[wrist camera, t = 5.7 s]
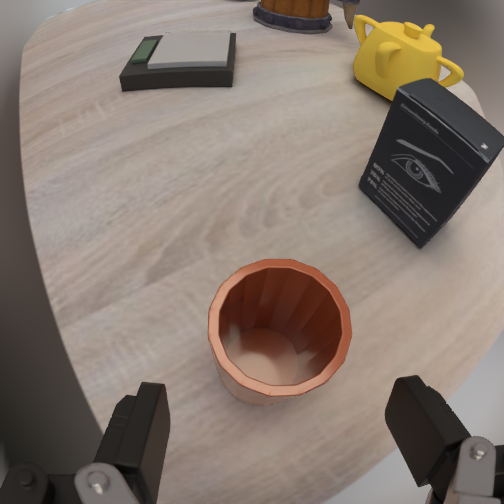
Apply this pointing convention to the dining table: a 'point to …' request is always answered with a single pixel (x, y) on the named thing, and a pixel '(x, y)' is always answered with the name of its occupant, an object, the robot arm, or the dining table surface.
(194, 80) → the scale
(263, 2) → the mug
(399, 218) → the box
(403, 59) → the teapot
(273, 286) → the cup
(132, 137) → the dining table surface
